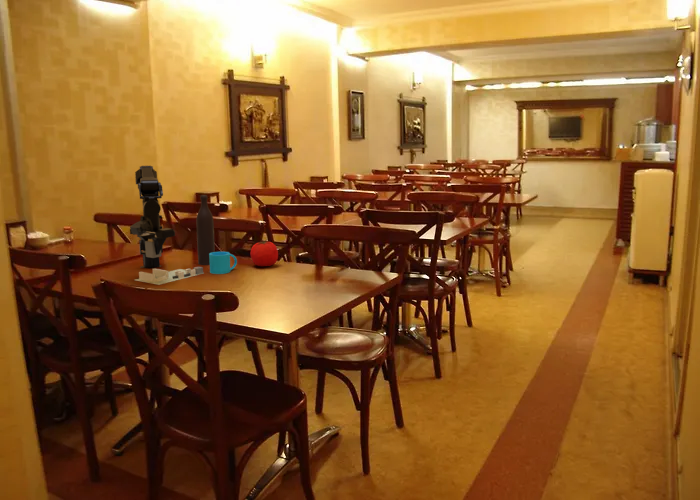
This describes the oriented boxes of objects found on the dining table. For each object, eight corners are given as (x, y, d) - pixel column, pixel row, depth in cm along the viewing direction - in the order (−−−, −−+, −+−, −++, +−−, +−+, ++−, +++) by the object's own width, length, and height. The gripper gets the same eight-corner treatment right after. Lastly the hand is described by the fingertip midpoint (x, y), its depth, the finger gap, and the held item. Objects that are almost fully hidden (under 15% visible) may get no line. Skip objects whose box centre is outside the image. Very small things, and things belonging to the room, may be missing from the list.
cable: (172, 278, 228) (171, 276, 228) (192, 273, 237) (192, 271, 237) (176, 279, 227) (176, 277, 227) (196, 274, 236) (196, 272, 236)
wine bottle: (217, 265, 256) (214, 195, 250) (201, 267, 252) (198, 196, 246) (211, 262, 261) (208, 194, 256) (195, 264, 258) (192, 195, 252)
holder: (138, 279, 227) (138, 271, 226) (154, 275, 233) (153, 268, 232) (154, 282, 222) (153, 274, 222) (169, 278, 228) (168, 271, 228)
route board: (133, 281, 226) (133, 279, 226) (180, 270, 245) (180, 268, 245) (158, 286, 219) (158, 284, 219) (204, 274, 238) (204, 273, 238)
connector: (145, 256, 225) (144, 239, 224) (154, 255, 229) (153, 237, 227) (153, 257, 223) (152, 240, 222) (161, 256, 227) (160, 238, 225)
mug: (216, 276, 235) (215, 256, 234) (206, 273, 241) (205, 253, 239) (242, 272, 243) (241, 252, 242) (231, 268, 249) (231, 249, 247)
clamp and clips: (173, 277, 230) (172, 271, 229) (196, 272, 240) (196, 266, 239) (181, 279, 228) (180, 273, 227) (204, 273, 238) (203, 267, 237)
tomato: (275, 262, 261) (275, 237, 259) (281, 268, 250) (280, 242, 248) (248, 264, 257) (247, 239, 255) (252, 270, 247) (251, 243, 245)
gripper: (116, 213, 221) (119, 254, 224) (150, 217, 211) (153, 260, 214) (141, 210, 230) (143, 250, 233) (175, 214, 221) (177, 255, 224)
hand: (153, 253), depth 226 cm, fingers closed on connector, 4 cm apart
